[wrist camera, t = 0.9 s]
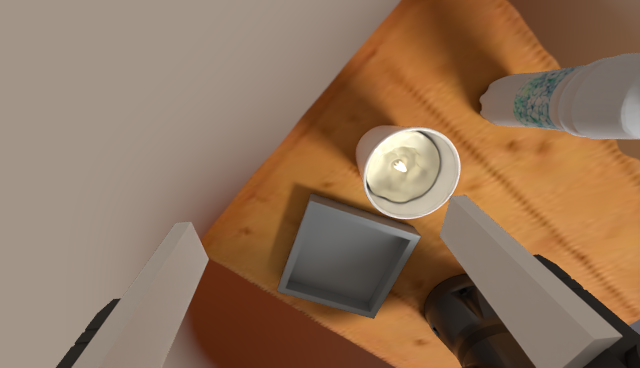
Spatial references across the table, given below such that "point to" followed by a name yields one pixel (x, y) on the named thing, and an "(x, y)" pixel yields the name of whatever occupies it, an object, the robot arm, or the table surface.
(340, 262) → the tray
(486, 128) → the table surface
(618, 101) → the bottle
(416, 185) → the candle holder
